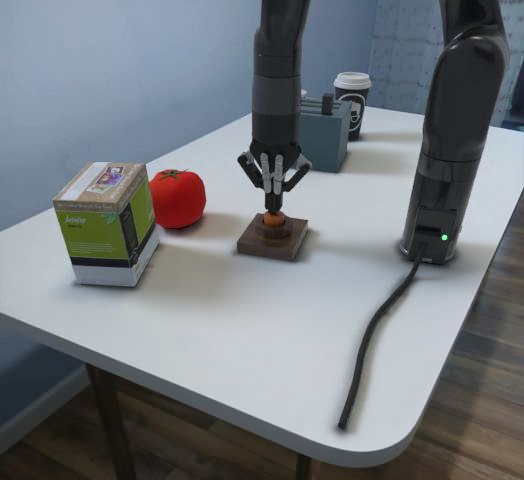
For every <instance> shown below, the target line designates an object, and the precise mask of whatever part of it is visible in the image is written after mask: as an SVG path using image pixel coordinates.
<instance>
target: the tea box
mask: <svg viewBox="0 0 524 480" xmlns="http://www.w3.org/2000/svg"><path fill="white" fill-rule="evenodd" d="M149 182H150V181H149V175H148V169H147V163H145V162H113V161H112V162H111V161H109V162H108V161H90V160H89V161H88V162H87V164H85V165H84V166H83V167H82V168H81V169H80V170H79V172H78V173H76V175H74V177H73V178H72V179H71V180H69V182H68V183H67V184H66V185H65V186H64V187H63V188H62V189H60V191H58V193H57V195H56V196H54V197H53V198H52V199H51V201H52V205H53V210H54V213H55V216H56V220H57V222H58V225H59V228H60V232H61V235H62V238H63V241H64V244H65V248H66V251H67V255H68V257H69V260H70V263H71V267H72V270H73V271H72V272H73V273H74V277H75V280H76V282H77V284H79V285H97V286H111V287H112V286H113V287H131V288H132V287H136V285H137V284H138V281H139V280H140V278H141V276H142V274H143V273H144V270H145V269H146V266H147V265H148V263H149V262H150V259H151V258H152V256H153V254H154V252H155V250H156V248H158V245H159V243H160V238H159V231H158V226H157V225H158V224H156V219H155V214H154V208H153V202H152V197H151V191H150V186H149Z"/></svg>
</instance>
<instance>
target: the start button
mask: <svg viewBox="0 0 524 480" xmlns="http://www.w3.org/2000/svg"><path fill="white" fill-rule="evenodd" d="M263 214H264V224H265V225H267V226H271V227H278V226H282V225H284V215H285V213H284V212H283V211H282V210H280V211H278V212H277V214H272V213H268V210H266V211H265V212H264V213H263Z"/></svg>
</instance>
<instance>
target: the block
mask: <svg viewBox="0 0 524 480" xmlns="http://www.w3.org/2000/svg"><path fill="white" fill-rule="evenodd" d="M308 230H309V219H304V218H298V217H297V218H296V217H291V216H288V215H286V214H284V225H282V226H278V227H271V226H267V225H265V224H264V213H261V212H257V213H256V214H255V216H254V217H253V218H252V220H251V221H250V223H249V224H248V226H247V227H246V228H245V230H244V231H243V232H242V234H241V236H240V237H239V238H238V240H237V241H236V253H237V254H240V255H241V254H242V255H246V256H247V255H248V256H255V257H261V258H267V259H273V260H279V261H286V262H293V260H294V259H295V256H296V254H297V253H298V251H299V249H300V246H301V244H302V243H303V241H304V239H305V236H306V234H307V232H308Z"/></svg>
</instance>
